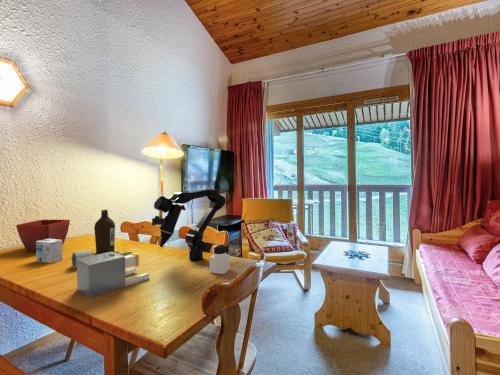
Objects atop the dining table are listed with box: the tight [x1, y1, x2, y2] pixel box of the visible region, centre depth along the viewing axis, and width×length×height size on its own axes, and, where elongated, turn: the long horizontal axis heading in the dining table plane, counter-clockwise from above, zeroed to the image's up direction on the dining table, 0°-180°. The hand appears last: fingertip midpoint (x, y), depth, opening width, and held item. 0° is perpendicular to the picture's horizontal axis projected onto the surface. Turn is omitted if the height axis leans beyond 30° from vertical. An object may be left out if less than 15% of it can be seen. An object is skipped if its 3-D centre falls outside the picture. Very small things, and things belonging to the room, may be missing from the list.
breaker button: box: [123, 252, 140, 269], centre depth 107 cm, size 12×5×5 cm, turn 141°
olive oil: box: [93, 209, 116, 255], centre depth 150 cm, size 11×11×25 cm
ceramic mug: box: [71, 250, 95, 269], centre depth 128 cm, size 11×8×8 cm
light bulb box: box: [35, 239, 64, 264], centre depth 136 cm, size 11×7×11 cm, turn 73°
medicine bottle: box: [209, 243, 231, 275], centre depth 119 cm, size 7×7×12 cm
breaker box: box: [76, 251, 150, 299], centre depth 104 cm, size 23×12×13 cm, turn 141°
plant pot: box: [15, 219, 71, 253], centre depth 158 cm, size 19×19×17 cm
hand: (160, 246), depth 122 cm, fingers closed
